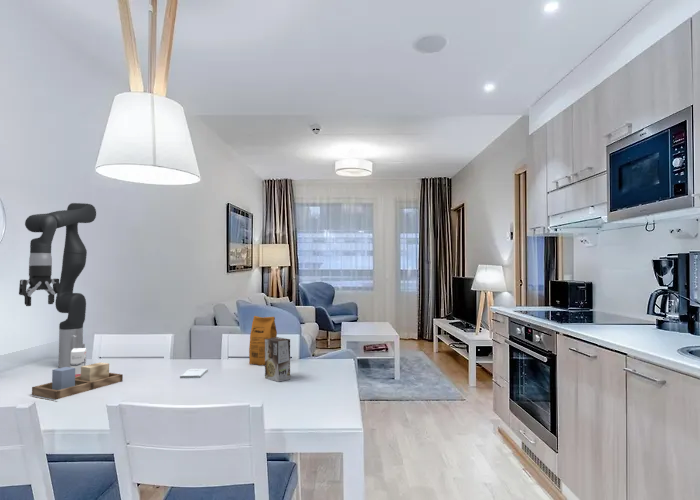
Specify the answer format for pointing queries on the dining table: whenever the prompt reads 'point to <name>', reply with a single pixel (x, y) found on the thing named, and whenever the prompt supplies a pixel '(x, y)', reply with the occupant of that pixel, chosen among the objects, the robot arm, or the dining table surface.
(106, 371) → the oak block
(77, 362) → the ink box
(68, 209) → the robot arm
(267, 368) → the coffee box
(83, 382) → the tray
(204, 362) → the dining table surface
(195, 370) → the external hard drive
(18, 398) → the dining table surface
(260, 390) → the dining table surface
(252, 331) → the coffee package
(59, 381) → the slate block
